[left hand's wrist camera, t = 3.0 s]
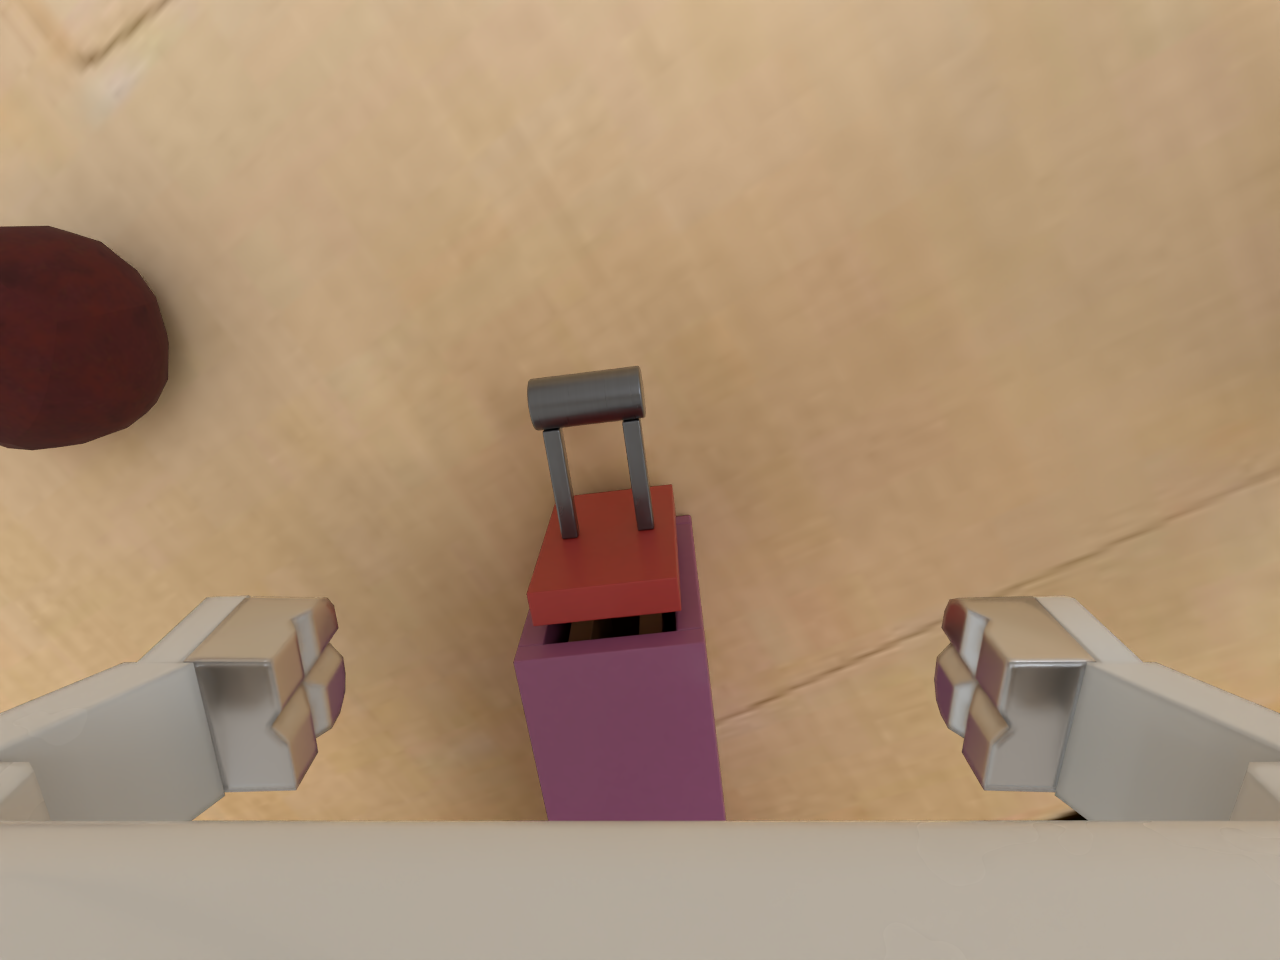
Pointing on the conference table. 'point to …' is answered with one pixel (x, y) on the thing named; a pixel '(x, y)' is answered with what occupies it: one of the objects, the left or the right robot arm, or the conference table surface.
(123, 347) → the dark brown ball
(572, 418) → the drawer
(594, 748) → the cabinet
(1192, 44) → the conference table surface
